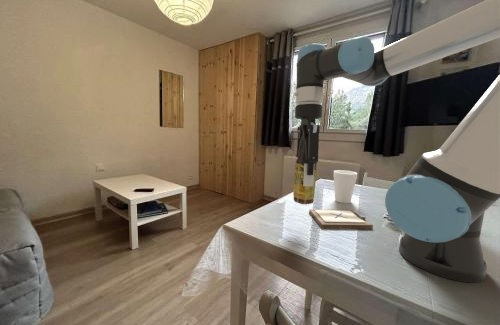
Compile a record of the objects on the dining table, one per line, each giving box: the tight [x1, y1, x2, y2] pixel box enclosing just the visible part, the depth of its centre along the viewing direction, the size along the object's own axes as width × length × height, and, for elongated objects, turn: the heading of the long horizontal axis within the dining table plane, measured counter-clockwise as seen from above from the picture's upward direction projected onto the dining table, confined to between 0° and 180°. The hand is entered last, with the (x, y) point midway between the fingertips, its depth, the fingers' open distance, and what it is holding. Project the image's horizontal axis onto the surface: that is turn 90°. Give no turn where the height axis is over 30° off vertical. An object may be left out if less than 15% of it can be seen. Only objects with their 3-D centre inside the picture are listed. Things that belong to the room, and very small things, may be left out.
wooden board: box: [308, 208, 374, 230], centre depth 72 cm, size 13×16×2 cm
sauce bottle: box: [292, 137, 318, 205], centre depth 63 cm, size 6×6×20 cm
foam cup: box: [332, 169, 358, 204], centre depth 92 cm, size 10×9×13 cm
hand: (304, 183), depth 63 cm, fingers closed on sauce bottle, 6 cm apart
